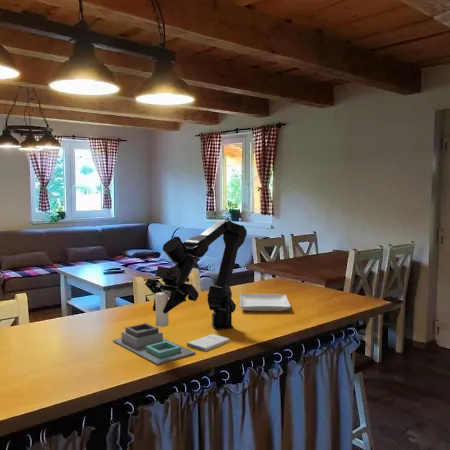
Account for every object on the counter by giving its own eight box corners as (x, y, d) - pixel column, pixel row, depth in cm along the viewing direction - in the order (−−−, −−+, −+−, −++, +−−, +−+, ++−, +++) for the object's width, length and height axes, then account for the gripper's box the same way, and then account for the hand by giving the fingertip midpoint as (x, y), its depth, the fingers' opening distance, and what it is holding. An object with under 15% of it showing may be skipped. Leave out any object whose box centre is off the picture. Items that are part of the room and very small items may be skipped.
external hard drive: (186, 347, 154) (212, 337, 164) (205, 353, 149) (230, 342, 159) (186, 342, 154) (212, 333, 164) (205, 348, 149) (230, 338, 158)
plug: (161, 322, 150) (161, 291, 149) (171, 324, 148) (170, 293, 147) (153, 325, 147) (152, 294, 146) (162, 327, 145) (162, 295, 144)
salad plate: (291, 313, 193) (291, 305, 193) (239, 313, 194) (239, 305, 193) (285, 301, 214) (285, 293, 214) (239, 301, 215) (239, 293, 214)
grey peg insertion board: (112, 341, 159) (112, 326, 159) (148, 332, 168) (148, 319, 168) (157, 365, 138) (157, 348, 137) (195, 353, 147) (195, 338, 147)
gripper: (148, 254, 154) (124, 293, 146) (192, 259, 144) (168, 301, 136) (164, 273, 161) (142, 312, 153) (208, 279, 151) (186, 321, 143)
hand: (158, 311), depth 146 cm, fingers closed on plug, 4 cm apart
